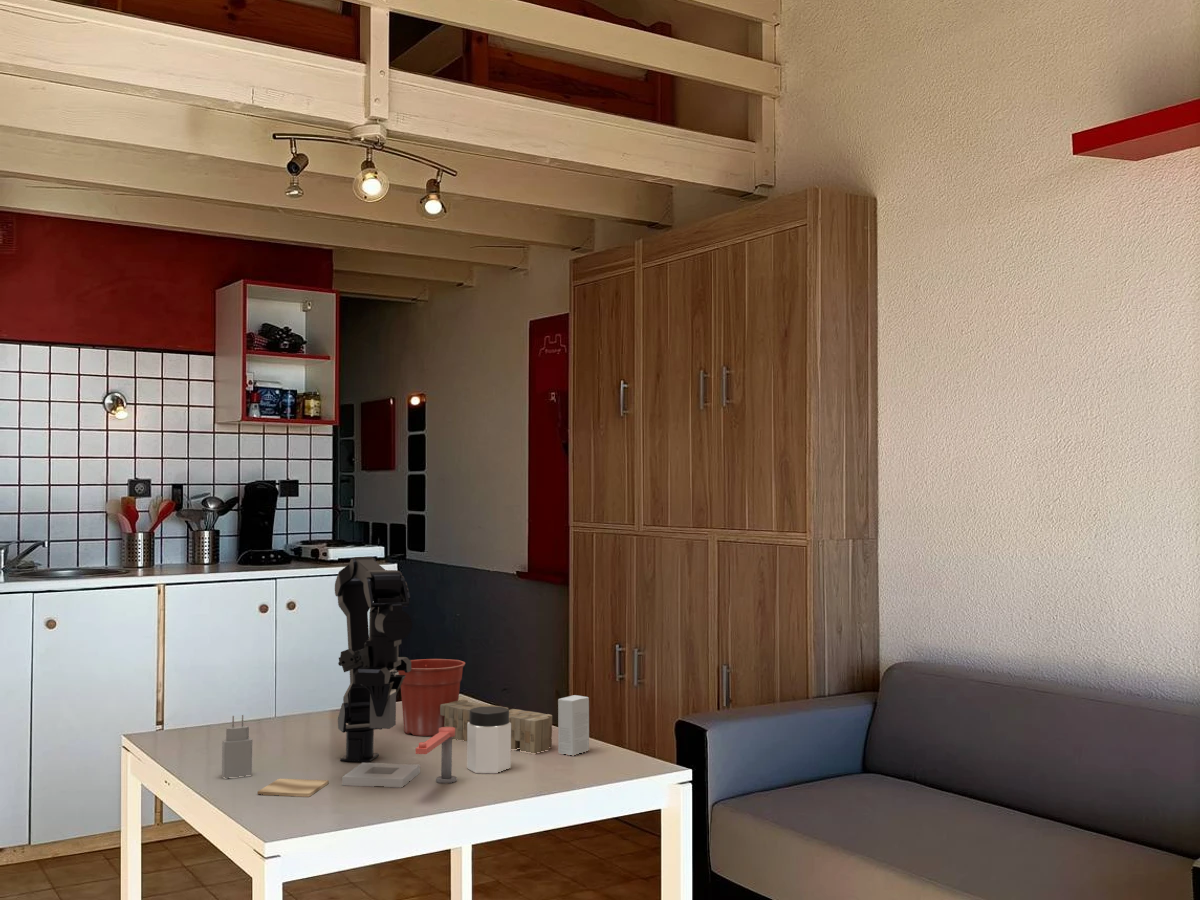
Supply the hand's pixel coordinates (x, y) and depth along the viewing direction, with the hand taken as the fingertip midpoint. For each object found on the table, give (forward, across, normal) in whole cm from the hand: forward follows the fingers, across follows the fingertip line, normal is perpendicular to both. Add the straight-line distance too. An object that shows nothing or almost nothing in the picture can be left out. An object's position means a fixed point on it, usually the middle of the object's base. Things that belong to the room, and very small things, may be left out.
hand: (382, 714), depth 223 cm
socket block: (+13, 0, +5) cm, 13 cm away
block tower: (+13, -36, +15) cm, 41 cm away
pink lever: (+4, +7, +13) cm, 15 cm away
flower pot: (+13, -46, -3) cm, 48 cm away
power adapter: (+13, +2, -29) cm, 32 cm away
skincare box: (+13, -28, +34) cm, 46 cm away
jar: (+13, -11, +19) cm, 25 cm away
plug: (+2, 0, 0) cm, 2 cm away
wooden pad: (+13, +10, -14) cm, 21 cm away
